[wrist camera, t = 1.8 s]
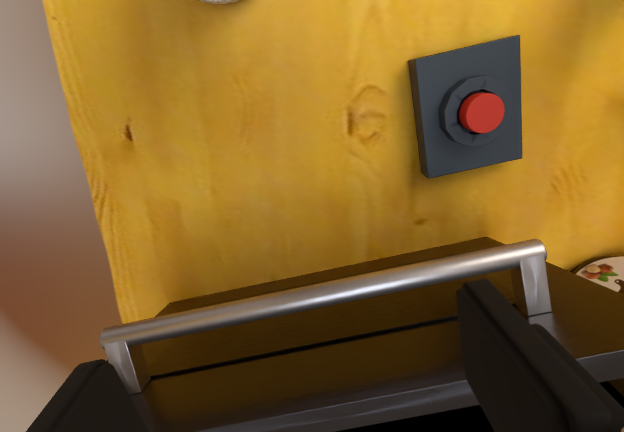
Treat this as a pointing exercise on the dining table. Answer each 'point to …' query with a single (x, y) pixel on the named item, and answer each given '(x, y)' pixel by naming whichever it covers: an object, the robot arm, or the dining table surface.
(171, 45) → the dining table surface
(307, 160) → the dining table surface
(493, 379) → the robot arm
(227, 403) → the oven door
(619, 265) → the spread jar
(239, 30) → the dining table surface
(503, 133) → the dark grey flat block
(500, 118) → the timer button
